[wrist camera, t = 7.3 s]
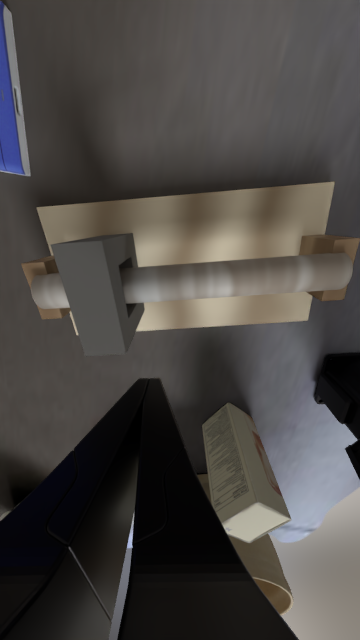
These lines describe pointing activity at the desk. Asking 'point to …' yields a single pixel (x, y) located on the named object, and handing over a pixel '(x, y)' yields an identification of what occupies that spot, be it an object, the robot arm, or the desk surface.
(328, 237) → the roll holder
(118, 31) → the desk surface
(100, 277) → the collar
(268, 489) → the skincare box
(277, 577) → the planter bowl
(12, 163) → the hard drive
